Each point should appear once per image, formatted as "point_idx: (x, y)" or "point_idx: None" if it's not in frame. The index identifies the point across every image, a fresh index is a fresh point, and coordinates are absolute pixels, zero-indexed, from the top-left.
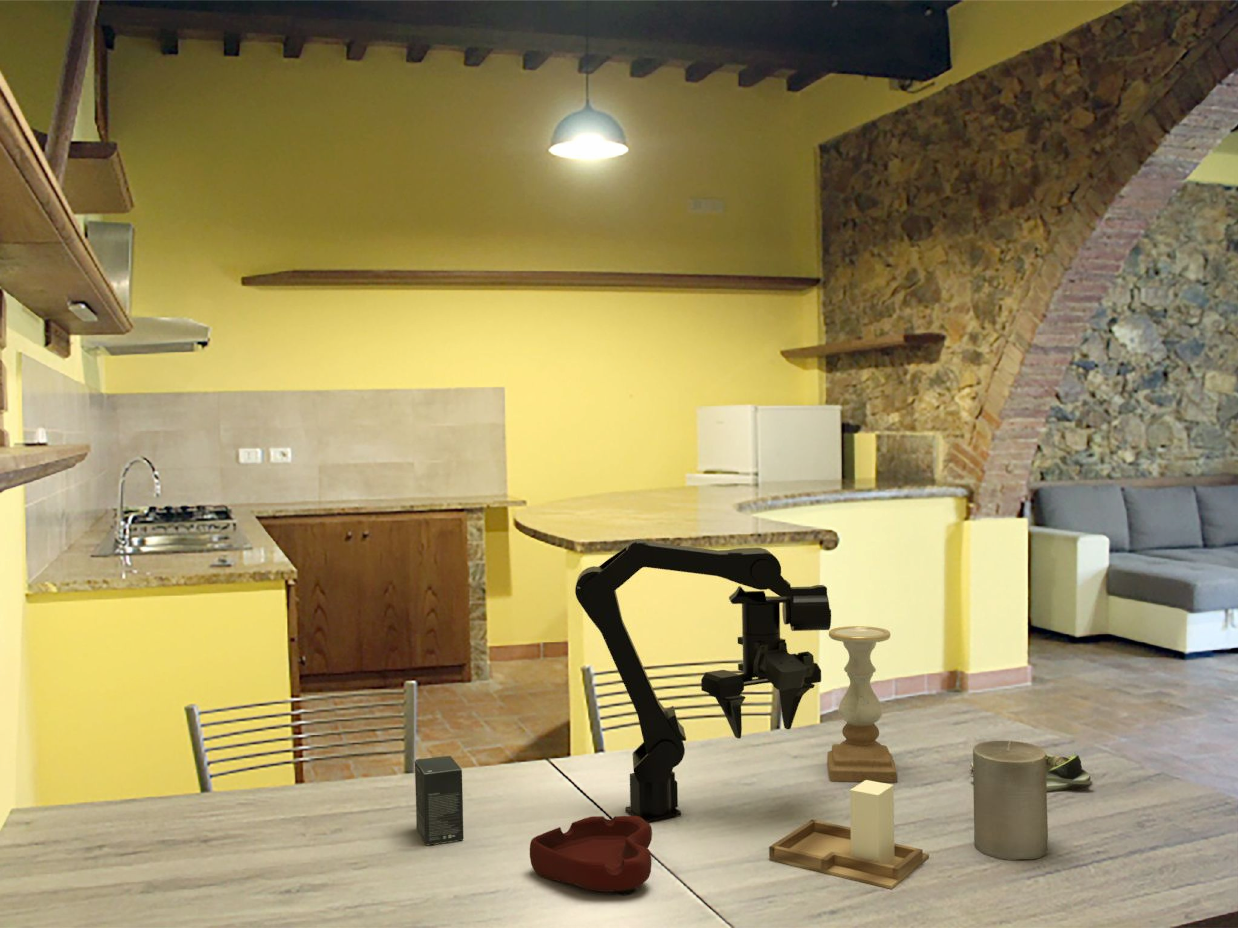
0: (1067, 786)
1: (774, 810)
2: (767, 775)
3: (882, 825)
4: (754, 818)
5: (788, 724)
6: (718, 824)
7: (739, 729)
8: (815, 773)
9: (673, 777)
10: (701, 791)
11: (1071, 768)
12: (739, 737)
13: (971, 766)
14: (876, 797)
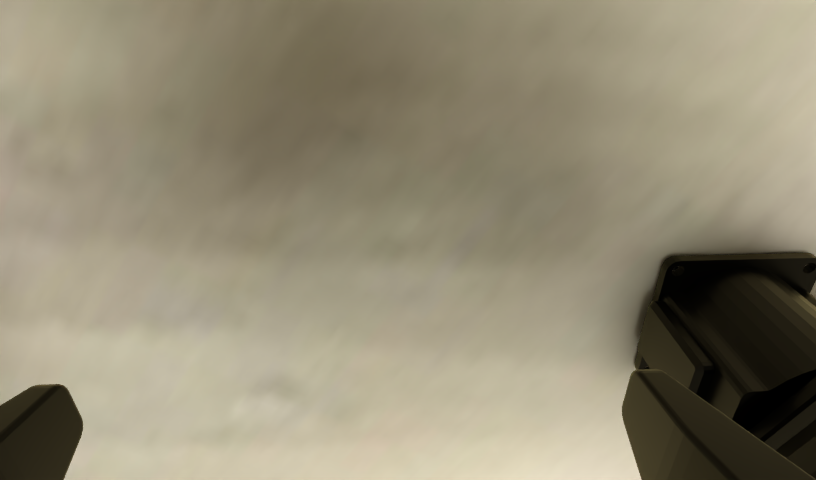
0: None
1: (337, 135)
2: (181, 417)
3: None
4: (464, 98)
5: (30, 418)
6: (627, 115)
7: (719, 429)
8: (7, 370)
9: (741, 376)
10: (453, 395)
11: None
12: (659, 370)
13: None
14: None
